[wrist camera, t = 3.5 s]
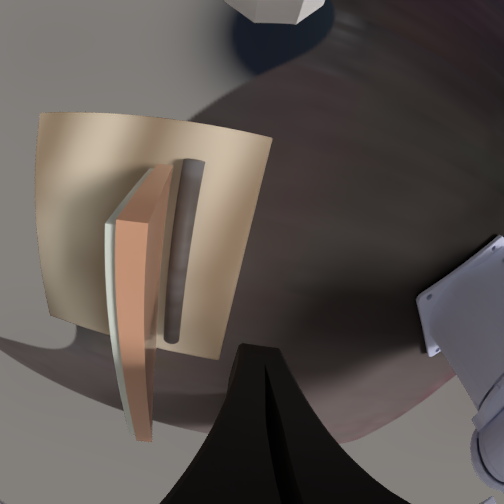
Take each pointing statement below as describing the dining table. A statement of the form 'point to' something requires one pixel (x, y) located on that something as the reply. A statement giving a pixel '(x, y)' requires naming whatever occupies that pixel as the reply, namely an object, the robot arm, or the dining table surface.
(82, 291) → the tile board
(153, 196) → the tile
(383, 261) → the dining table surface
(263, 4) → the pepper shaker
